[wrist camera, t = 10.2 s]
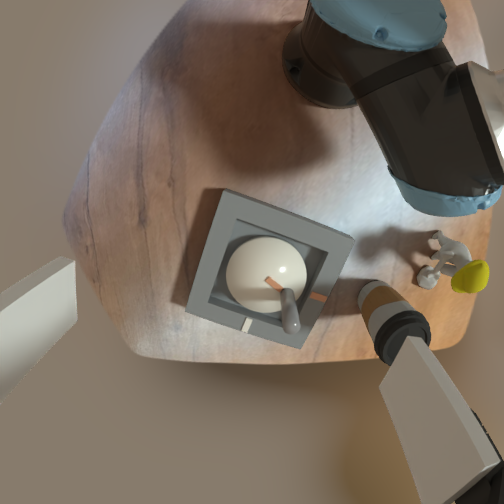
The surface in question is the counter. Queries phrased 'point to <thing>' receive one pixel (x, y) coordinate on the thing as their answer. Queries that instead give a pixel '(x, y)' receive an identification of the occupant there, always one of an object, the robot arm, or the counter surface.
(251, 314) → the dial board
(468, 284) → the figurine
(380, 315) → the coffee cup
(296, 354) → the counter surface
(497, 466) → the robot arm
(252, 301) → the dial
